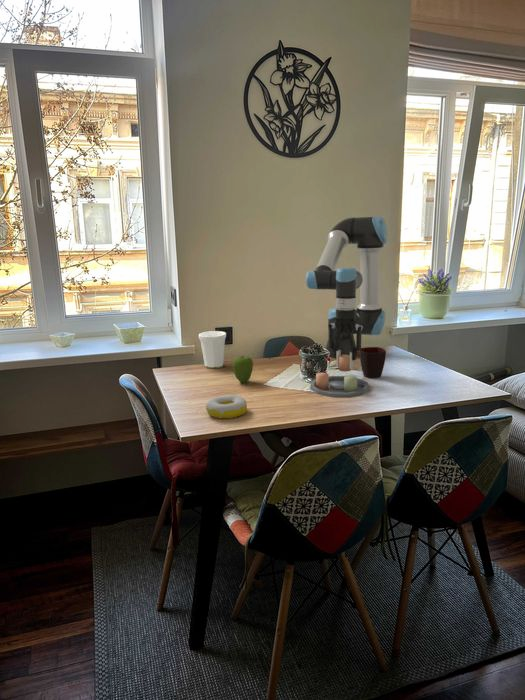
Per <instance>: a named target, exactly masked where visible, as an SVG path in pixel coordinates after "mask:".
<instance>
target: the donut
mask: <svg viewBox="0 0 525 700" xmlns="http://www.w3.org/2000/svg"><path fill="white" fill-rule="evenodd" d="M247 409H248V407H247V401H246V399H245V398H244V397H242V396H241V395H237V394H230V395H229V394H228V395H221V396H216V397H215V396H214V397H213V398H211V399H209V400H207V402H206V404H205V410H206V412H207V413H208V414H209V416H211V417H213V416H214V418H216V417H221V418H220V419H223V418H230V419H232V418H231V417H235V418H237V417H236V416H239V417H241V416H242V414H243V415H244V414H245V413H246V412H247ZM240 415H241V416H240Z"/></svg>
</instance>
